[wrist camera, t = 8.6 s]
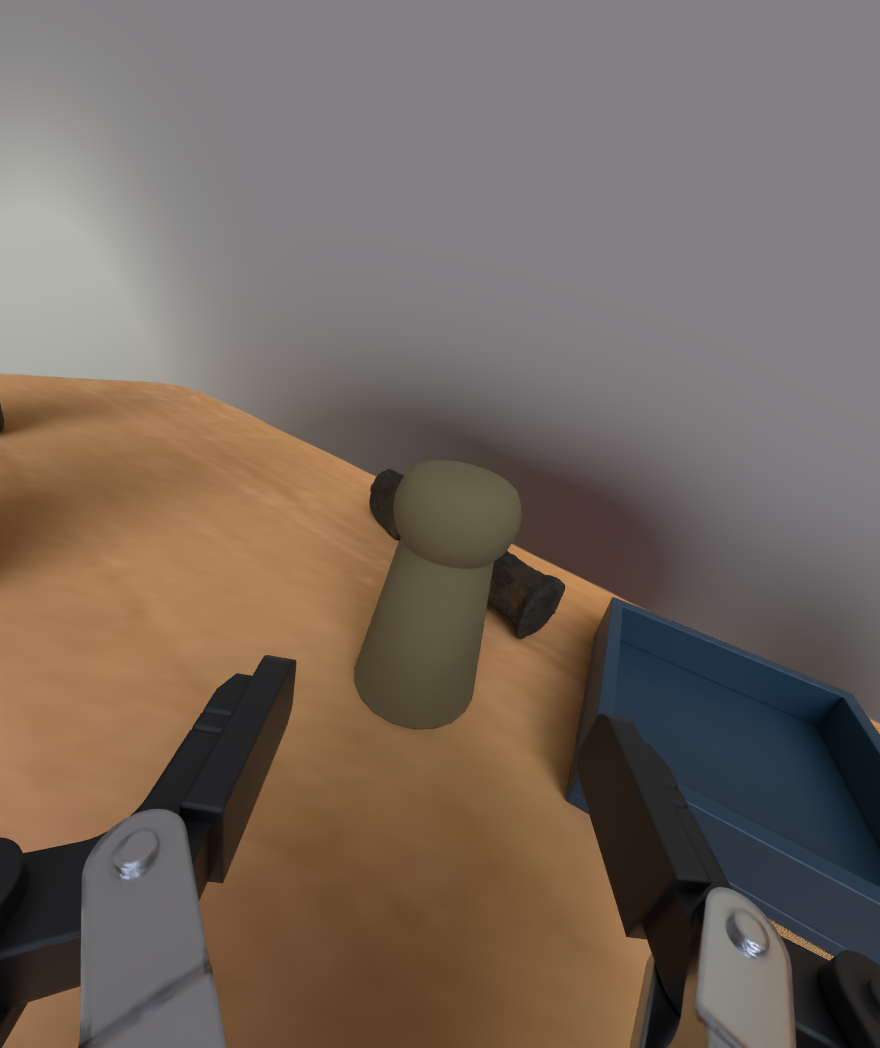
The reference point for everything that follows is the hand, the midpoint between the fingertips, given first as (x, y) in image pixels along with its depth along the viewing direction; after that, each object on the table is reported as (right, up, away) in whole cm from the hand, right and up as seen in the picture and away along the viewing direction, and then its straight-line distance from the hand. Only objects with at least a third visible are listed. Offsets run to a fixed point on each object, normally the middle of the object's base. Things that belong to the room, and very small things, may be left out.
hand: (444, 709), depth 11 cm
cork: (-1, -3, +10) cm, 10 cm away
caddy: (+13, -7, +9) cm, 17 cm away
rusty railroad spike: (-1, +2, +20) cm, 20 cm away
